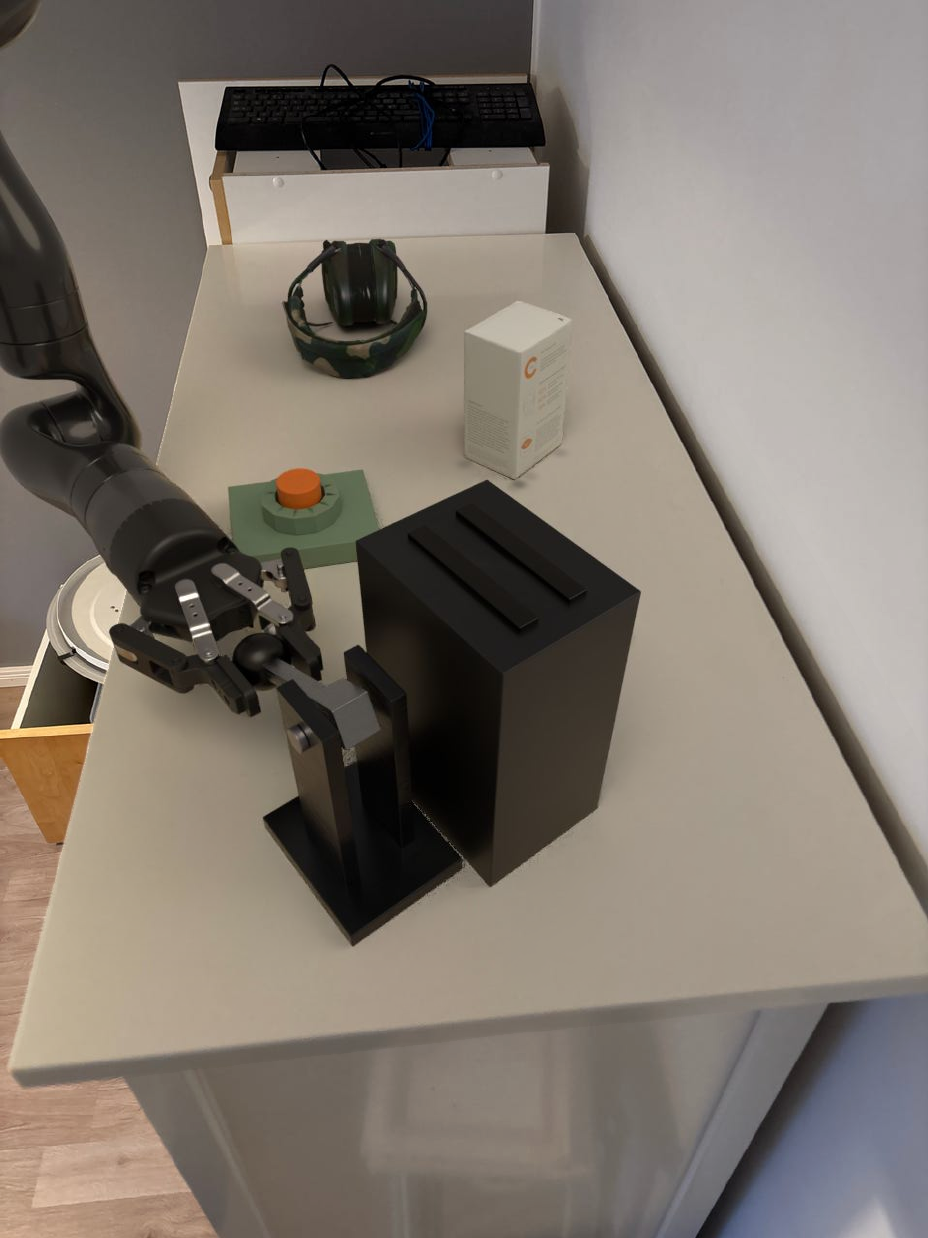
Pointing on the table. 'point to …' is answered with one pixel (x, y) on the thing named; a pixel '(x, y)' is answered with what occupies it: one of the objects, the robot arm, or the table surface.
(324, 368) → the headphones
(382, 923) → the lever bracket
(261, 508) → the control block
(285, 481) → the button
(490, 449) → the small box
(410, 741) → the toaster
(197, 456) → the table surface
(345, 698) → the toaster lever
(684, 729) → the table surface
